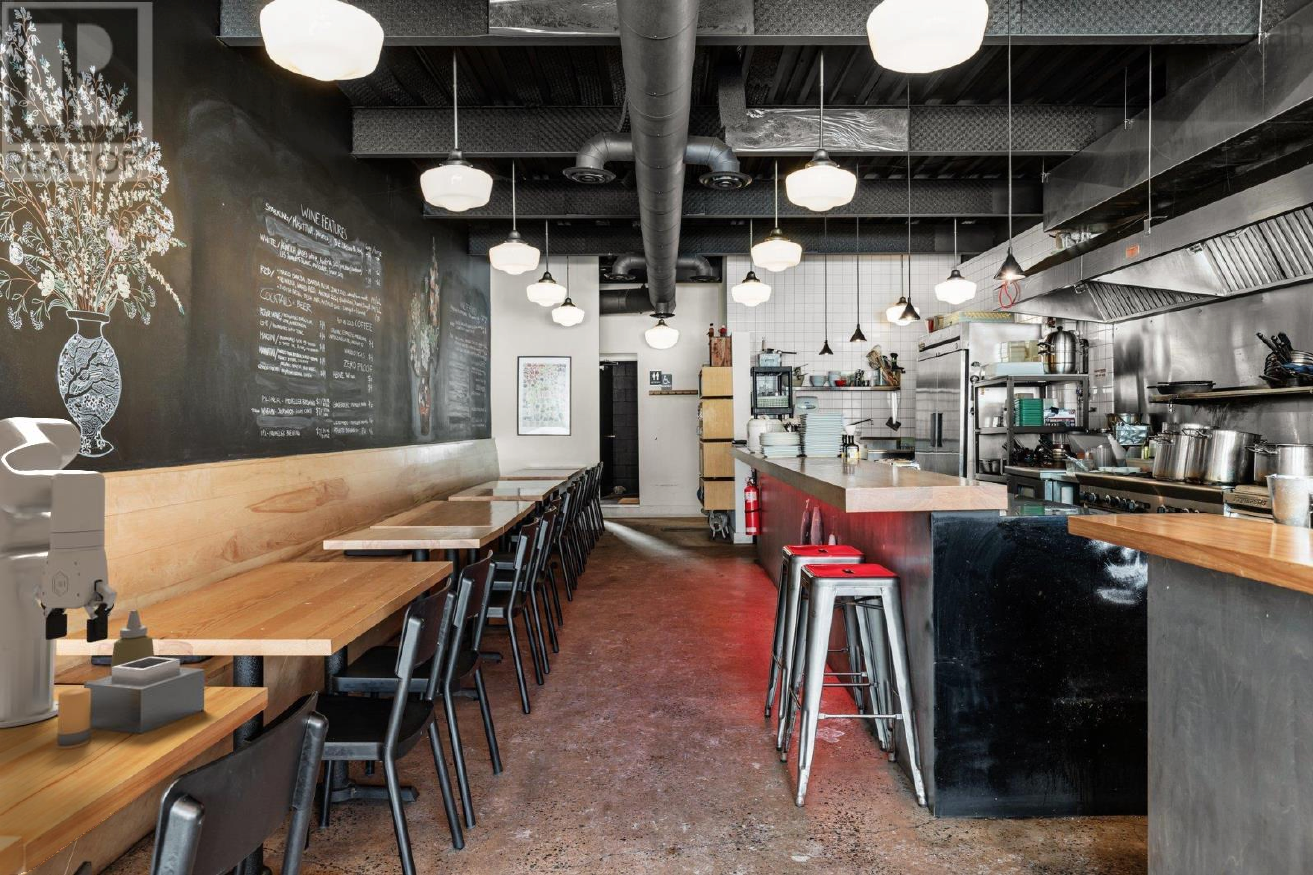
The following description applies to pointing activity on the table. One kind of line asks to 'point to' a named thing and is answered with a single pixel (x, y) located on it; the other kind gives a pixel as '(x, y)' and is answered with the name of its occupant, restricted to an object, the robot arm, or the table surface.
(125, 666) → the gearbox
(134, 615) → the squeeze bottle
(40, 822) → the table surface
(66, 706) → the orange cylinder
